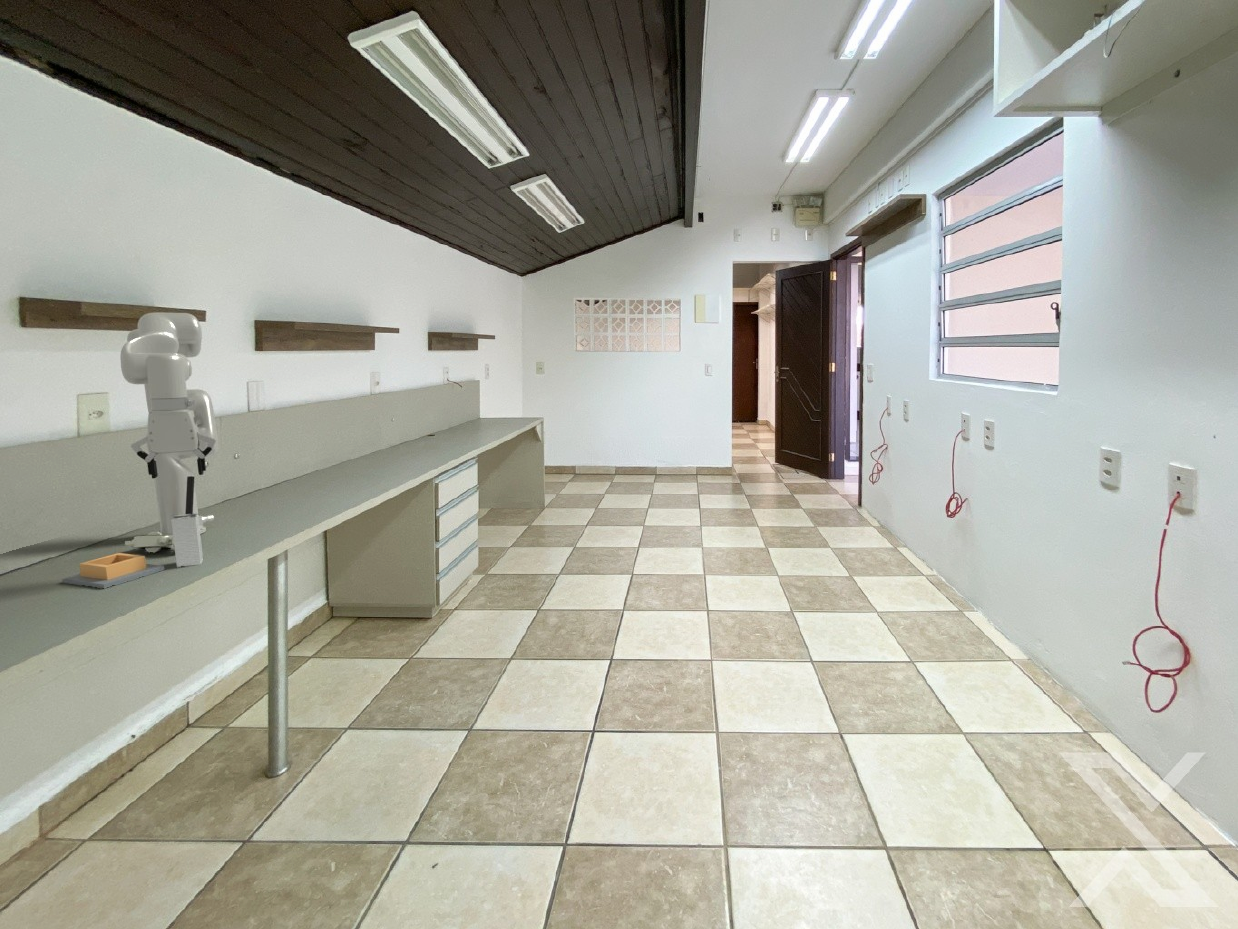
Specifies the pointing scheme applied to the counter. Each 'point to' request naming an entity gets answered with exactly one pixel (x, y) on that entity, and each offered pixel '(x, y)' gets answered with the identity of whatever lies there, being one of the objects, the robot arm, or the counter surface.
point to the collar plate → (112, 570)
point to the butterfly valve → (156, 539)
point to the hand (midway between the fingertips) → (178, 475)
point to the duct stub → (187, 540)
